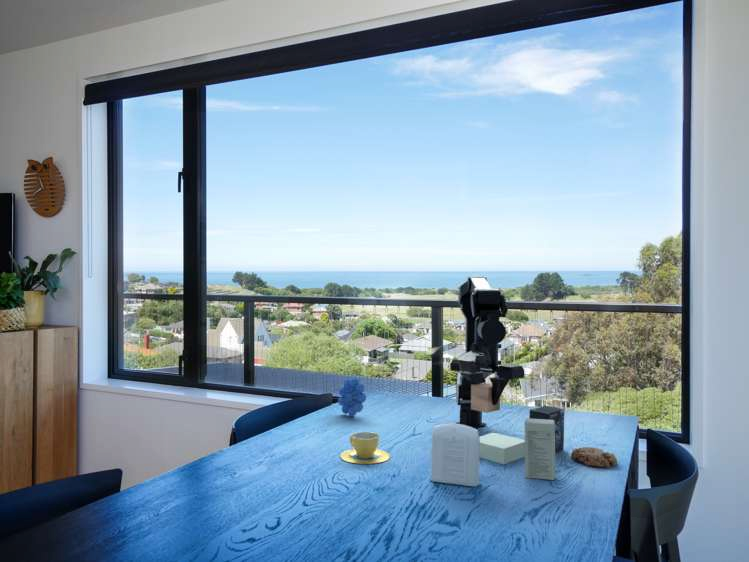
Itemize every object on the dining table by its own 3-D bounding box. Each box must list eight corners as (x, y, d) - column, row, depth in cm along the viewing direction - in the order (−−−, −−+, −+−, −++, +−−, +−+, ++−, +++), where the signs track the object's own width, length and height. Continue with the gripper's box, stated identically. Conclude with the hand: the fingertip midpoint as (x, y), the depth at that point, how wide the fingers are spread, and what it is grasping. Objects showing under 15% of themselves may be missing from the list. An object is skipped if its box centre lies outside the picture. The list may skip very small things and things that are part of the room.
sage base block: (493, 448, 154) (493, 432, 154) (527, 457, 147) (527, 440, 146) (469, 456, 147) (469, 439, 147) (503, 465, 140) (504, 448, 140)
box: (548, 456, 146) (549, 413, 146) (527, 451, 150) (528, 409, 150) (564, 450, 151) (565, 408, 151) (544, 445, 155) (545, 404, 155)
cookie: (577, 453, 150) (577, 441, 150) (622, 461, 144) (622, 449, 144) (564, 463, 142) (564, 450, 142) (611, 472, 136) (611, 459, 135)
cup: (400, 457, 144) (400, 435, 144) (365, 469, 136) (365, 445, 136) (364, 447, 153) (365, 426, 153) (329, 457, 144) (329, 435, 144)
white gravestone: (480, 481, 128) (481, 423, 128) (477, 488, 124) (478, 428, 123) (432, 476, 131) (433, 419, 131) (428, 482, 127) (429, 424, 127)
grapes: (375, 417, 183) (375, 378, 183) (359, 421, 179) (359, 380, 178) (349, 410, 192) (349, 373, 191) (333, 414, 187) (333, 375, 187)
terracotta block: (483, 406, 152) (483, 382, 152) (499, 409, 148) (500, 385, 148) (470, 409, 148) (471, 384, 148) (487, 412, 145) (487, 387, 145)
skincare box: (555, 474, 133) (556, 419, 133) (554, 481, 129) (555, 424, 128) (525, 471, 135) (526, 417, 135) (523, 477, 131) (524, 421, 131)
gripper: (436, 338, 150) (435, 401, 150) (498, 345, 136) (497, 414, 136) (464, 336, 157) (464, 395, 157) (526, 342, 143) (525, 407, 143)
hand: (485, 403), depth 148 cm, fingers closed on terracotta block, 5 cm apart
